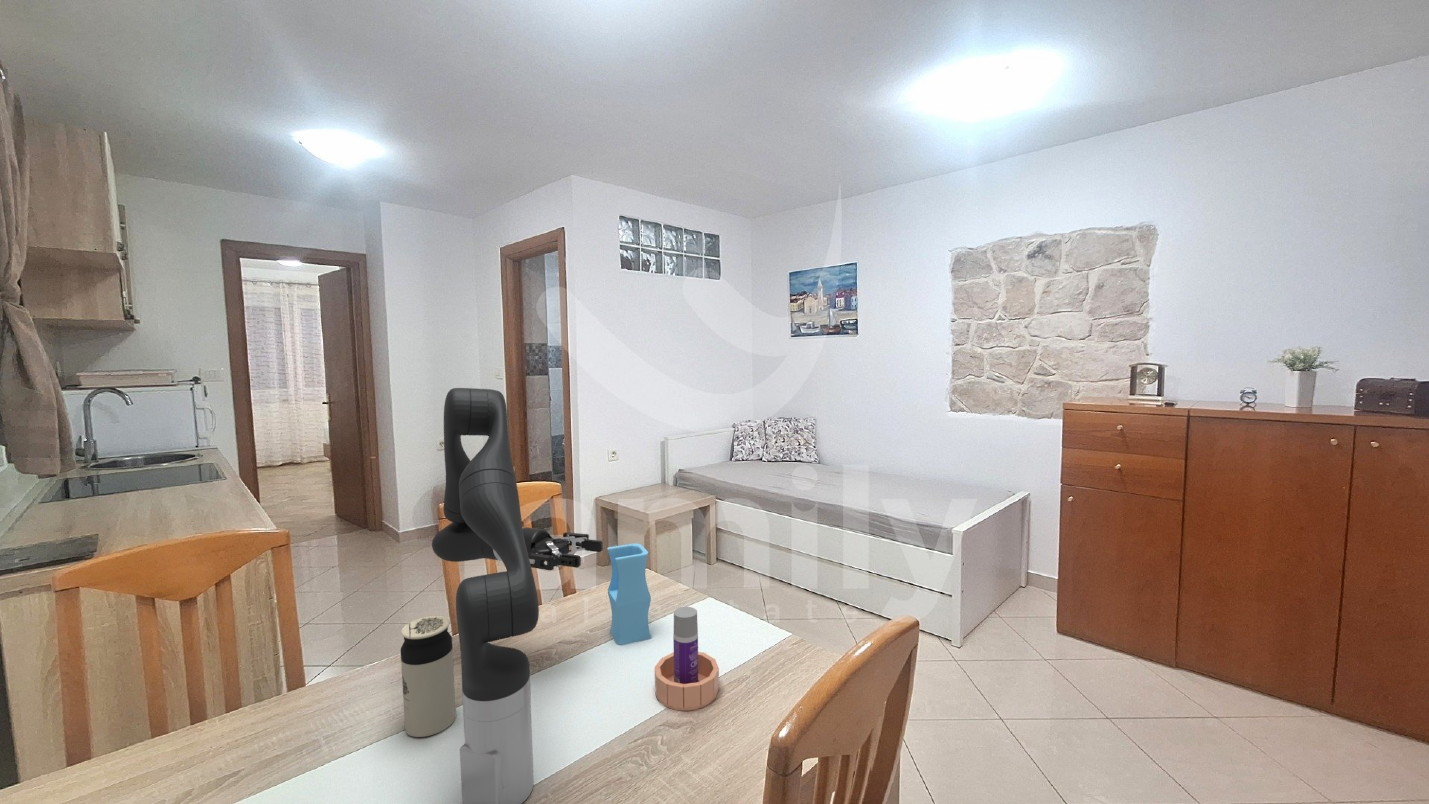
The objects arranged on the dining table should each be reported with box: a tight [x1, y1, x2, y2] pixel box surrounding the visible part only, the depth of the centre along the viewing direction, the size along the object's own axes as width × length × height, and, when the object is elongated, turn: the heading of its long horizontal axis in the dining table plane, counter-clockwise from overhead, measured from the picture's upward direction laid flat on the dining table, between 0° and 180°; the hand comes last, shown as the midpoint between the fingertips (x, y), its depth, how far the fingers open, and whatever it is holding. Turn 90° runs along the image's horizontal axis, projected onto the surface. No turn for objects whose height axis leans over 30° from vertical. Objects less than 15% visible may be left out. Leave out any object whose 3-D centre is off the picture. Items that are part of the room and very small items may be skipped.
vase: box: [607, 542, 652, 646], centre depth 126 cm, size 8×8×20 cm
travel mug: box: [400, 615, 457, 738], centre depth 96 cm, size 8×8×18 cm
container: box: [672, 606, 699, 684], centre depth 105 cm, size 5×5×15 cm
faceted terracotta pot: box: [654, 651, 720, 712], centre depth 106 cm, size 12×12×5 cm
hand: (591, 553), depth 109 cm, fingers open, 8 cm apart
